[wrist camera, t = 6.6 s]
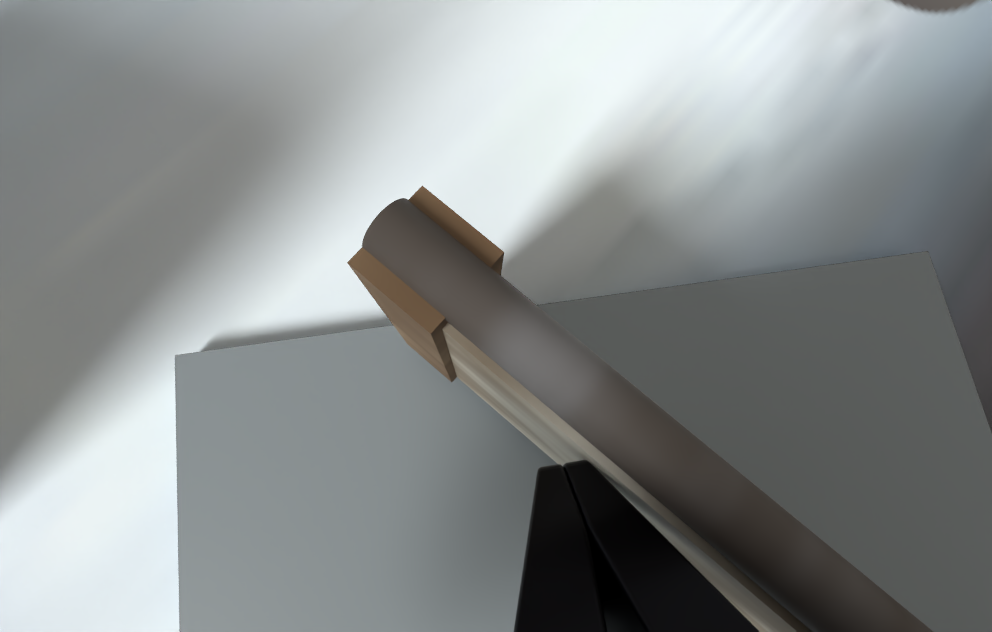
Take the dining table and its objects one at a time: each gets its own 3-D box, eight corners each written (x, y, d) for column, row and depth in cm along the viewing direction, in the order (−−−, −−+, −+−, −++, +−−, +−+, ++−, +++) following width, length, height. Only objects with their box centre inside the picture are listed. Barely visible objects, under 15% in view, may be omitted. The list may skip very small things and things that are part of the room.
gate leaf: (976, 746, 12) (1615, 1142, 5) (944, 808, 12) (1578, 1310, 5) (446, 300, 14) (419, 172, 7) (407, 344, 14) (340, 252, 7)
